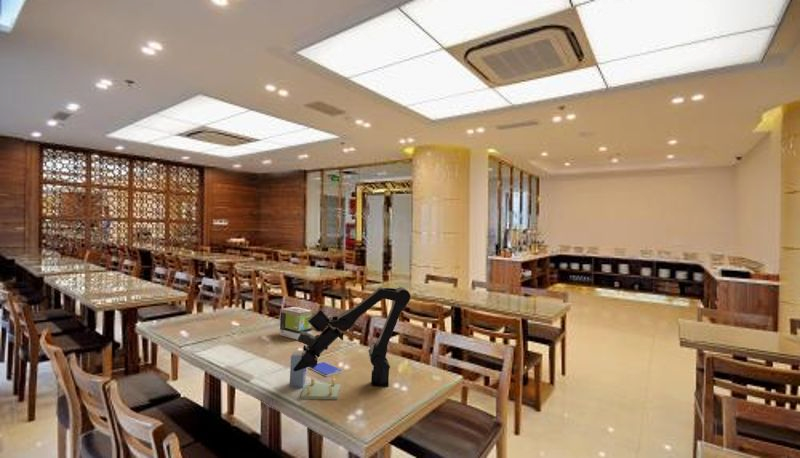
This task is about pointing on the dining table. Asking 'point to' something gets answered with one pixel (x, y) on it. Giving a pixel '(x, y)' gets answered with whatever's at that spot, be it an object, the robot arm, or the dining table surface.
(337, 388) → the chassis
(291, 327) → the tea box
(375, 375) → the robot arm
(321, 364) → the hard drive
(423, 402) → the dining table surface
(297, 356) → the block
